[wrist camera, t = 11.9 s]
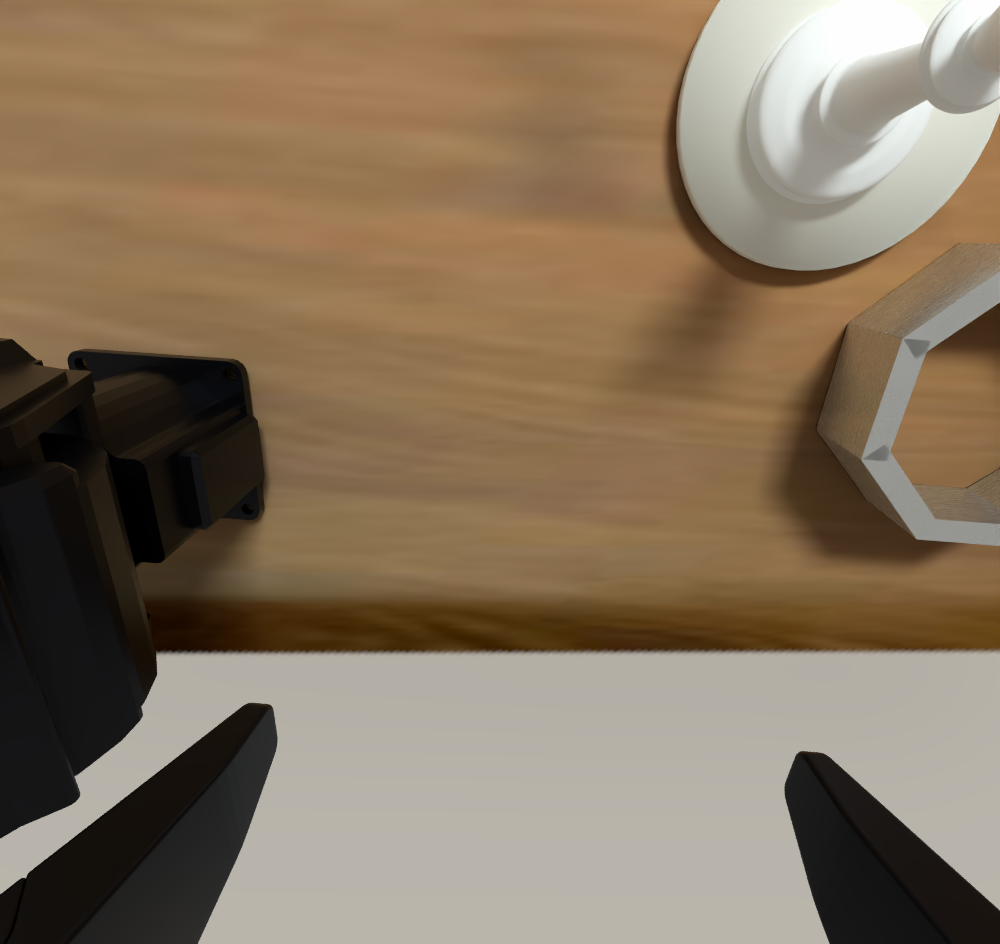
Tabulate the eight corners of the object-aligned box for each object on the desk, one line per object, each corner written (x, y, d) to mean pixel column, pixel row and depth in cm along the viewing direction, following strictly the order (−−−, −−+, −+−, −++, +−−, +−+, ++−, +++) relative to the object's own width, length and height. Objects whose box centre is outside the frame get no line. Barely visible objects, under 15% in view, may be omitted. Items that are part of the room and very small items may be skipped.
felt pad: (653, 260, 18) (656, 261, 18) (709, -98, 15) (716, -111, 14) (928, 278, 18) (940, 279, 17) (1053, -83, 14) (1073, -95, 14)
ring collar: (796, 495, 21) (835, 533, 19) (874, 237, 18) (937, 237, 15) (1038, 513, 21) (1115, 554, 18) (1168, 256, 17) (1288, 259, 15)
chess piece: (964, 81, 15) (1597, -147, 6) (828, 238, 17) (1168, 240, 8) (839, -43, 15) (1364, -517, 5) (710, 136, 16) (939, 8, 7)
